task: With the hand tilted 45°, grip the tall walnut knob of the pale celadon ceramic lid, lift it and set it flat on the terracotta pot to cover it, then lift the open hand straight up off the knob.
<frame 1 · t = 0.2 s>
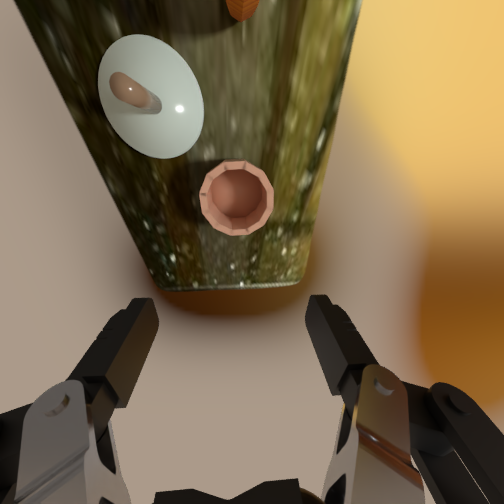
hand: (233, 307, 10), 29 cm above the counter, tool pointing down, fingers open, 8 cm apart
celadon lid: (156, 105, 28), on the counter
terracotta pot: (236, 192, 35), on the counter
carrot: (239, 16, 25), on the counter
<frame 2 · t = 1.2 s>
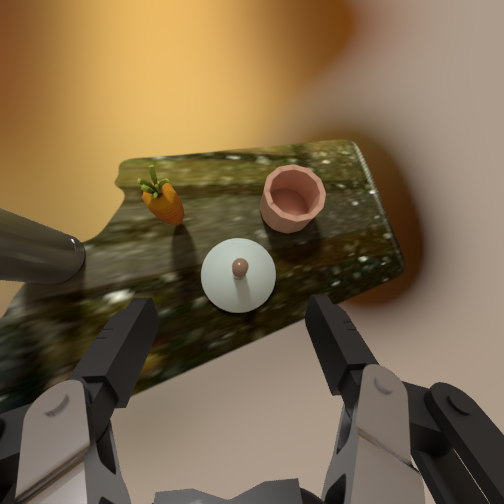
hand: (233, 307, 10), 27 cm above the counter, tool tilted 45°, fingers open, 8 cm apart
celadon lid: (238, 274, 37), on the counter
terracotta pot: (285, 209, 41), on the counter
carrot: (179, 223, 39), on the counter
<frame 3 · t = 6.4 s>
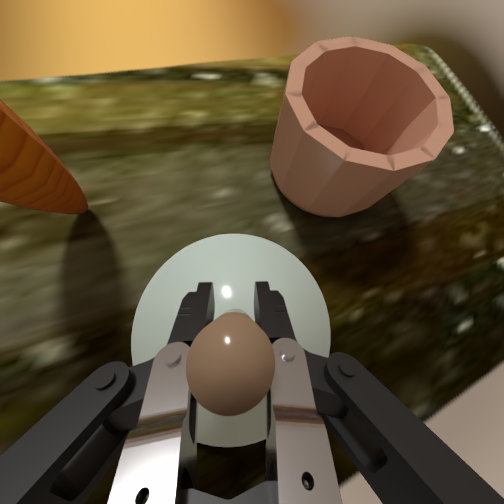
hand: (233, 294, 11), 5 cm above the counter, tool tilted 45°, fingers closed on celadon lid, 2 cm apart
celadon lid: (235, 324, 15), on the counter, touching gripper
terracotta pot: (323, 168, 19), on the counter
carrot: (86, 211, 16), on the counter
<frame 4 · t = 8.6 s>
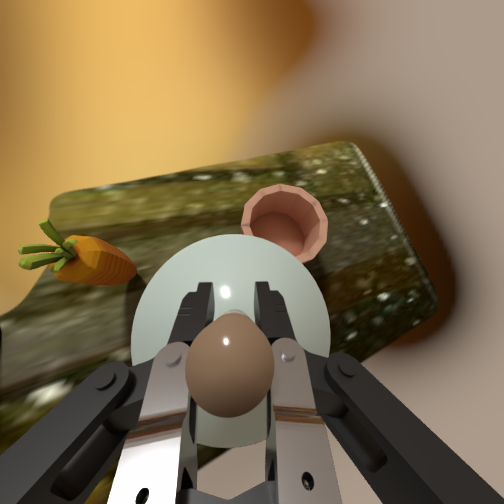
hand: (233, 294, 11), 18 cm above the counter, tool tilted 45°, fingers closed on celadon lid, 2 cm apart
celadon lid: (234, 325, 15), point 14 cm above the counter, touching gripper
terracotta pot: (275, 239, 31), on the counter
carrot: (134, 273, 29), on the counter
when the fingers open (12 cm above the counter, at t = 11.3 s): celadon lid stays where it is, resting on terracotta pot.
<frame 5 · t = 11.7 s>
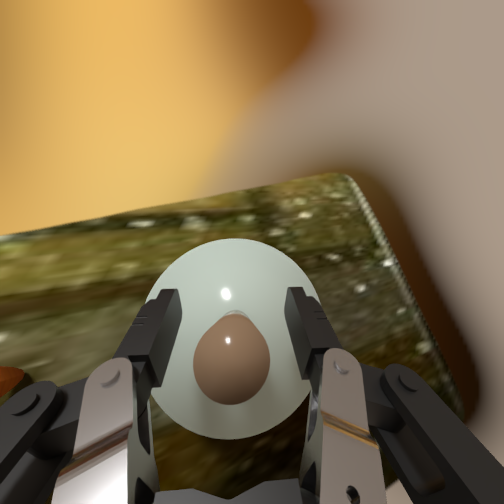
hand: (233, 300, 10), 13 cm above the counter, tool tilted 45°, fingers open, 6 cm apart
celadon lid: (235, 324, 16), point 7 cm above the counter, touching terracotta pot
carrot: (24, 373, 20), on the counter
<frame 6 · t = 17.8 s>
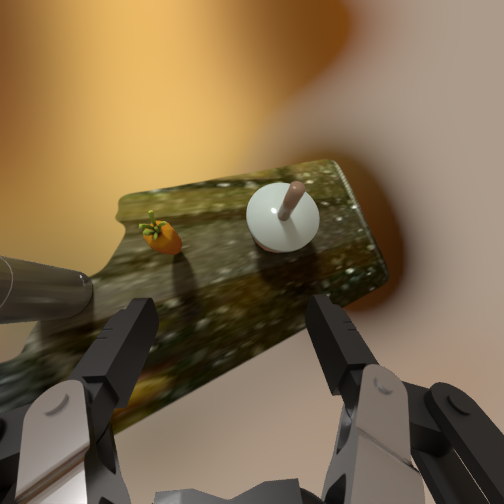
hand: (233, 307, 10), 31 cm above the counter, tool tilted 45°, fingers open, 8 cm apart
celadon lid: (281, 217, 38), point 7 cm above the counter, touching terracotta pot
carrot: (178, 251, 42), on the counter
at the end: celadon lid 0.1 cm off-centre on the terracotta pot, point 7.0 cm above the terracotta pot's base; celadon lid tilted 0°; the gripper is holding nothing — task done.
